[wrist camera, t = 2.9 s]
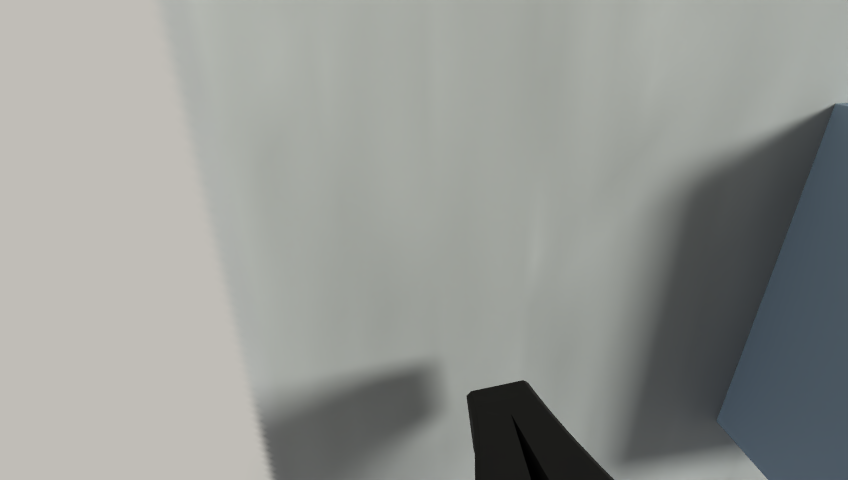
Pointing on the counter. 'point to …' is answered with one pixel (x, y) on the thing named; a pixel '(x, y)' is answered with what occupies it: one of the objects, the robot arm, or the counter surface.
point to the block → (801, 336)
